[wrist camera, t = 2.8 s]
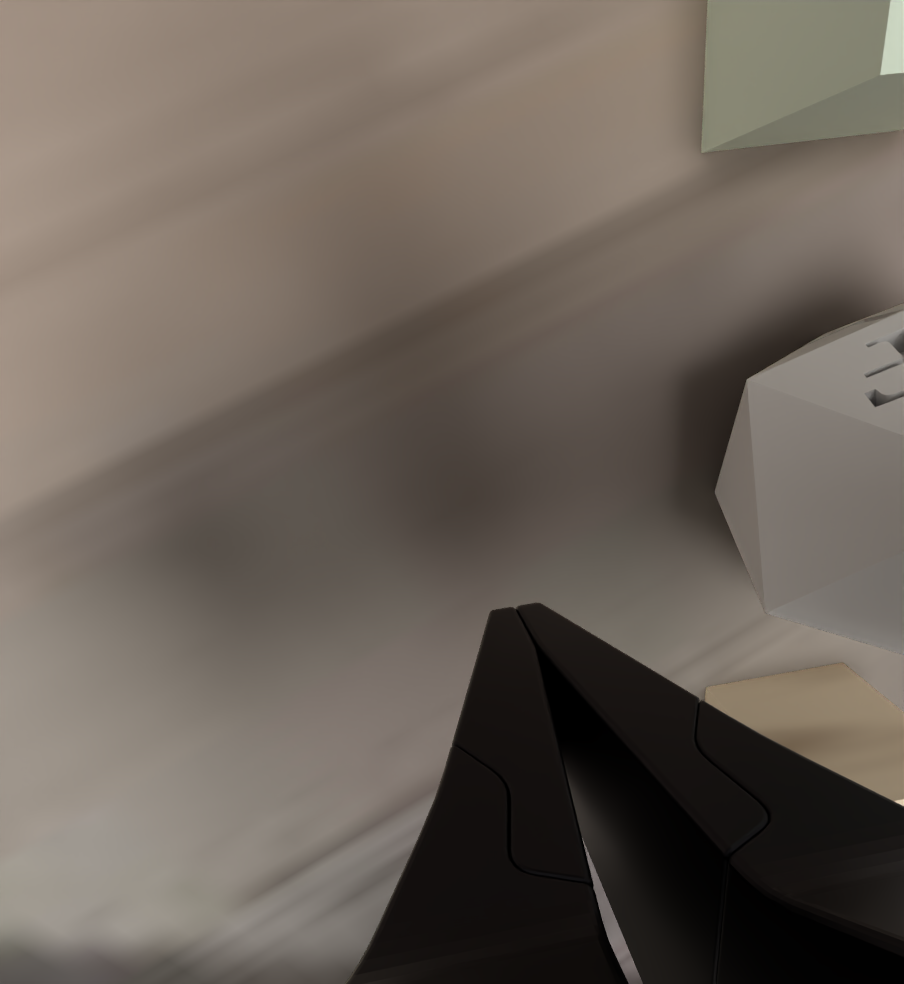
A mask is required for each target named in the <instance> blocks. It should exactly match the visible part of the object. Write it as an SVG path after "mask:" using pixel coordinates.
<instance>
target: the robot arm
mask: <svg viewBox="0 0 904 984" xmlns="http://www.w3.org/2000/svg"><path fill="white" fill-rule="evenodd" d="M581 835H582V836H581ZM582 838H583V840H584V843H585V845H586V847H587V850H588V852H589V855H590V857H591V859H592V862H593V864H594V867H595V869H596V871H597V874H598V876H599V879H600V881H601V883H602V886H603V888H604V891H605V893H606V896H607V898H608V900H609V903H610V905H611V908H612V910H613V912H614V915H615V917H616V920H617V922H618V924H619V927H620V929H621V932H622V934H623V936H624V939H625V941H626V944H627V946H628V949H629V951H630V953H631V956H632V958H633V961H634V963H635V965H636V968H637V970H638V973H639V975H640V977H641V980H642V982H643V984H904V806H902V805H900V804H898V803H896V802H894V801H892V800H890V799H888V798H886V797H884V796H882V795H880V794H878V793H876V792H874V791H872V790H870V789H868V788H866V787H864V786H862V785H860V784H858V783H856V782H854V781H852V780H850V779H848V778H846V777H844V776H842V775H840V774H838V773H836V772H834V771H832V770H830V769H828V768H826V767H824V766H822V765H820V764H818V763H816V762H814V761H812V760H810V759H808V758H806V757H804V756H802V755H800V754H798V753H796V752H794V751H793V750H791V749H789V748H787V747H785V746H783V745H781V744H779V743H777V742H775V741H773V740H771V739H769V738H767V737H766V736H764V735H762V734H760V733H758V732H757V731H755V730H753V729H751V728H750V727H748V726H746V725H744V724H743V723H741V722H739V721H737V720H736V719H734V718H732V717H730V716H728V715H727V714H725V713H723V712H722V711H720V710H718V709H717V708H715V707H713V706H712V705H710V704H708V703H707V702H705V701H700V703H699V698H698V697H696V696H695V695H693V694H691V693H690V692H688V691H686V690H685V689H683V688H681V687H680V686H678V685H676V684H675V683H673V682H671V681H670V680H668V679H666V678H665V677H663V676H661V675H660V674H658V673H656V672H655V671H653V670H651V669H650V668H648V667H646V666H645V665H643V664H641V663H640V662H638V661H636V660H635V659H633V658H631V657H630V656H628V655H626V654H625V653H623V652H621V651H620V650H618V649H616V648H615V647H613V646H611V645H610V644H608V643H606V642H605V641H603V640H601V639H600V638H598V637H596V636H595V635H593V634H591V633H590V632H588V631H586V630H585V629H583V628H581V627H580V626H578V625H576V624H575V623H573V622H571V621H570V620H568V619H566V618H565V617H563V616H561V615H560V614H558V613H556V612H555V611H553V610H551V609H550V608H548V607H546V606H545V605H543V604H541V603H531V604H526V605H520V606H518V607H516V609H515V608H513V607H508V608H502V609H496V610H492V611H491V612H490V614H489V617H488V620H487V624H486V627H485V631H484V634H483V638H482V641H481V645H480V648H479V652H478V655H477V659H476V662H475V666H474V669H473V673H472V676H471V680H470V683H469V687H468V690H467V694H466V697H465V701H464V704H463V708H462V711H461V715H460V718H459V722H458V725H457V729H456V732H455V736H454V739H453V743H452V747H451V749H450V752H449V755H448V759H447V762H446V766H445V769H444V772H443V775H442V778H441V781H440V784H439V787H438V790H437V793H436V796H435V799H434V802H433V804H432V806H431V809H430V811H429V814H428V816H427V818H426V821H425V823H424V826H423V828H422V830H421V833H420V835H419V837H418V840H417V842H416V844H415V846H414V848H413V850H412V853H411V855H410V857H409V859H408V861H407V864H406V866H405V868H404V870H403V872H402V875H401V877H400V879H399V881H398V883H397V886H396V888H395V890H394V892H393V894H392V896H391V899H390V901H389V903H388V905H387V907H386V910H385V912H384V914H383V916H382V918H381V921H380V923H379V925H378V927H377V929H376V931H375V933H374V935H373V937H372V940H371V942H370V944H369V946H368V948H367V950H366V951H365V953H364V955H363V957H362V959H361V960H360V962H359V964H358V965H357V967H356V969H355V970H354V972H353V973H352V975H351V976H350V978H349V979H348V980H347V982H346V983H345V984H628V981H627V979H626V977H625V975H624V973H623V971H622V969H621V967H620V964H619V962H618V960H617V958H616V956H615V954H614V952H613V949H612V947H611V945H610V942H609V940H608V937H607V934H606V931H605V927H604V924H603V921H602V917H601V914H600V910H599V906H598V902H597V898H596V894H595V891H594V889H593V881H592V877H591V873H590V869H589V865H588V861H587V856H586V852H585V848H584V844H583V840H582Z"/></svg>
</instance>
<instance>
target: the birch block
mask: <svg viewBox="0 0 904 984" xmlns="http://www.w3.org/2000/svg"><path fill="white" fill-rule="evenodd" d="M705 702H707V703H708V704H710V705H712V706H713V707H715V708H717V709H718V710H720V711H722V712H723V713H725V714H727V715H728V716H730V717H732V718H734V719H736V720H737V721H739V722H741V723H743V724H744V725H746V726H748V727H750V728H751V729H753V730H755V731H757V732H758V733H760V734H762V735H764V736H766V737H767V738H769V739H771V740H773V741H775V742H777V743H779V744H781V745H783V746H785V747H787V748H789V749H791V750H793V751H794V752H796V753H798V754H800V755H802V756H804V757H806V758H808V759H810V760H812V761H814V762H816V763H818V764H820V765H822V766H824V767H826V768H828V769H830V770H832V771H834V772H836V773H838V774H840V775H842V776H844V777H846V778H848V779H850V780H852V781H854V782H856V783H858V784H860V785H862V786H864V787H866V788H868V789H870V790H872V791H874V792H876V793H878V794H880V795H882V796H884V797H886V798H888V799H890V800H892V801H894V802H896V803H898V804H900V805H902V806H904V712H903V711H901V710H900V709H899V708H898V707H897V706H895V705H894V704H893V703H892V702H890V701H889V700H888V699H887V698H886V697H884V696H883V695H882V694H881V693H879V692H878V691H877V690H876V689H875V688H873V687H872V686H871V685H870V684H868V683H867V682H866V681H865V680H863V679H862V678H861V677H860V676H859V675H857V674H856V673H855V672H854V671H852V670H851V669H850V668H849V667H848V666H846V665H845V664H844V663H837V664H832V665H826V666H821V667H815V668H810V669H804V670H799V671H793V672H787V673H782V674H776V675H771V676H765V677H760V678H754V679H748V680H743V681H737V682H732V683H726V684H721V685H715V686H710V687H706V693H705Z"/></svg>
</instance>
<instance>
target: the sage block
mask: <svg viewBox="0 0 904 984" xmlns="http://www.w3.org/2000/svg"><path fill="white" fill-rule="evenodd" d="M903 129H904V0H708V3H707V26H706V49H705V73H704V96H703V119H702V143H701V153H706V152H715V151H724V150H732V149H741V148H750V147H759V146H768V145H777V144H786V143H795V142H804V141H813V140H821V139H830V138H839V137H848V136H857V135H866V134H875V133H884V132H893V131H900V130H903Z"/></svg>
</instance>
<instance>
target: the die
mask: <svg viewBox="0 0 904 984" xmlns="http://www.w3.org/2000/svg"><path fill="white" fill-rule="evenodd" d="M714 493H715V495H716V497H717V500H718V502H719V504H720V507H721V509H722V512H723V514H724V516H725V519H726V521H727V523H728V526H729V528H730V531H731V533H732V535H733V538H734V540H735V542H736V545H737V547H738V550H739V552H740V554H741V557H742V559H743V562H744V564H745V566H746V569H747V571H748V573H749V576H750V578H751V581H752V583H753V585H754V588H755V590H756V592H757V595H758V597H759V600H760V602H761V604H762V607H763V609H764V611H765V613H766V614H769V615H773V616H776V617H779V618H783V619H786V620H789V621H793V622H796V623H799V624H803V625H806V626H809V627H813V628H816V629H819V630H823V631H826V632H829V633H833V634H836V635H839V636H843V637H846V638H849V639H853V640H856V641H859V642H863V643H866V644H869V645H873V646H876V647H879V648H883V649H886V650H889V651H893V652H896V653H899V654H903V655H904V303H902V304H900V305H897V306H895V307H892V308H889V309H887V310H884V311H882V312H879V313H876V314H874V315H871V316H869V317H866V318H863V319H861V320H858V321H856V322H853V323H850V324H848V325H845V326H843V327H840V328H837V329H835V330H832V331H830V332H827V333H825V334H823V335H821V336H820V337H818V338H816V339H814V340H813V341H811V342H809V343H808V344H806V345H804V346H803V347H802V348H799V349H797V350H796V351H794V352H792V353H791V354H789V355H787V356H786V357H784V358H782V359H780V360H779V361H777V362H775V363H774V364H772V365H770V366H769V367H767V368H765V369H764V370H762V371H760V372H758V373H757V374H755V375H753V376H752V377H750V378H748V379H747V380H746V384H745V387H744V391H743V394H742V398H741V401H740V405H739V408H738V412H737V415H736V419H735V422H734V426H733V429H732V433H731V436H730V440H729V443H728V447H727V450H726V454H725V457H724V461H723V464H722V468H721V471H720V475H719V478H718V482H717V485H716V489H715V492H714Z"/></svg>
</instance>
